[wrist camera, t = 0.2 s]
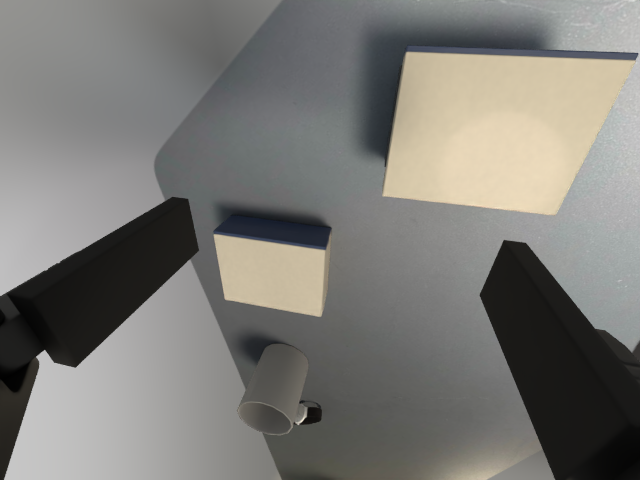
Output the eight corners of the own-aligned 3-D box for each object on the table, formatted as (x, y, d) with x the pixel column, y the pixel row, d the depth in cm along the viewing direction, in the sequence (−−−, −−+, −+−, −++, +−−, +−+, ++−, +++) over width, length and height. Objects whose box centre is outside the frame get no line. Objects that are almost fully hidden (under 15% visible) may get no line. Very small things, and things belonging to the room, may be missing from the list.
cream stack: (231, 212, 36) (211, 231, 32) (333, 226, 34) (325, 247, 30) (240, 277, 42) (223, 300, 38) (328, 292, 40) (321, 318, 36)
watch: (315, 398, 54) (310, 418, 51) (328, 413, 55) (325, 433, 52) (284, 405, 57) (278, 424, 54) (298, 418, 59) (293, 437, 56)
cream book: (404, 47, 20) (406, 44, 18) (611, 55, 18) (640, 52, 16) (382, 185, 26) (382, 196, 24) (540, 203, 24) (555, 216, 22)
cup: (310, 378, 51) (294, 439, 43) (266, 371, 53) (243, 429, 44) (306, 346, 47) (288, 407, 38) (259, 340, 48) (232, 397, 40)
